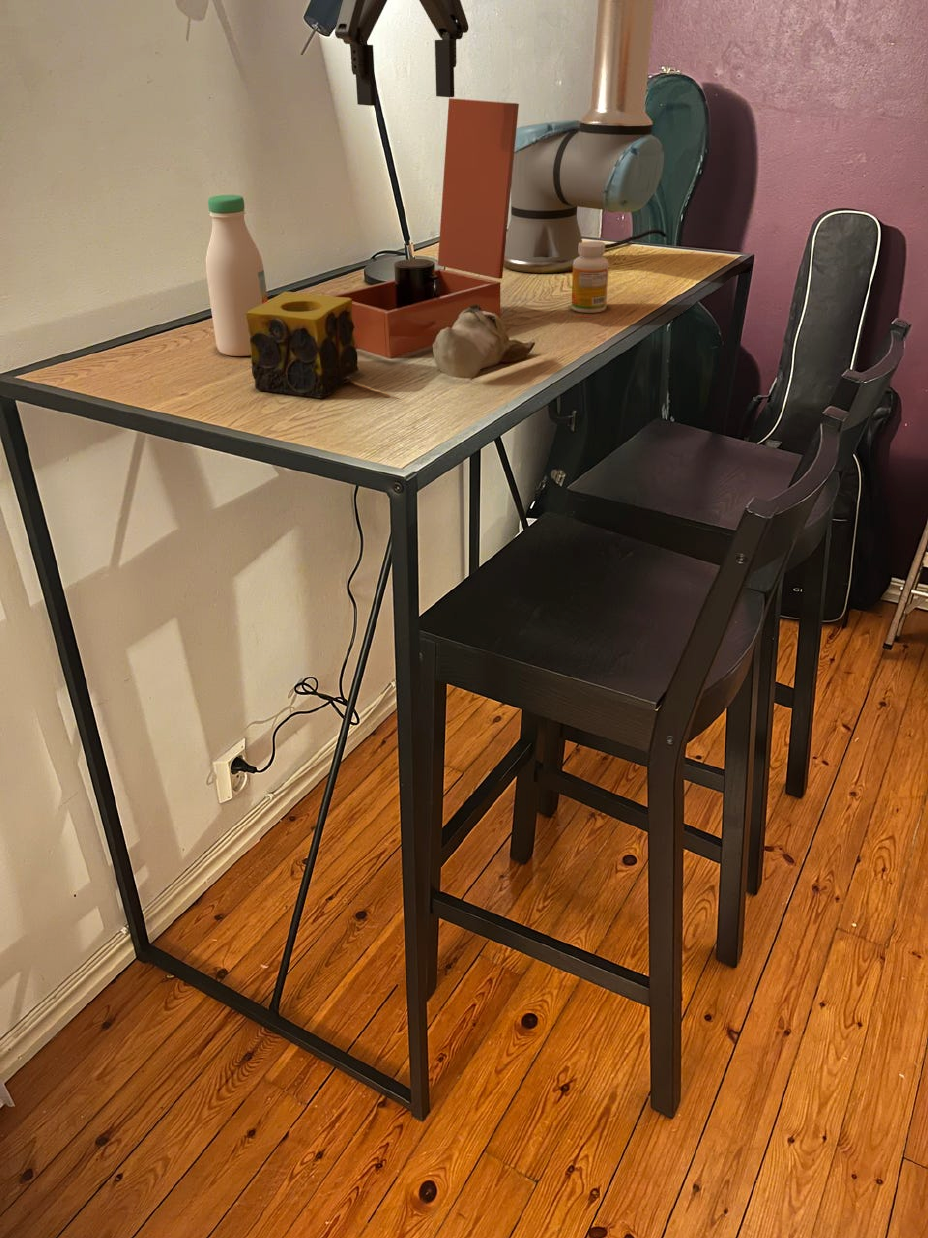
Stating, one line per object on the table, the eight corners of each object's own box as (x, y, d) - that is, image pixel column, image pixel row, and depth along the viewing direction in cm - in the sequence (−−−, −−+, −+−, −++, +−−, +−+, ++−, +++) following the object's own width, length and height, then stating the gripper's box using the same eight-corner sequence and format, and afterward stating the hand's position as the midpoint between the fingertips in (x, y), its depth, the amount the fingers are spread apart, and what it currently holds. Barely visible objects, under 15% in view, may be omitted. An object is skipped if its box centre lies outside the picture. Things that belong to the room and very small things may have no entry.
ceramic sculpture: (410, 308, 126) (472, 289, 137) (410, 377, 130) (470, 353, 141) (484, 321, 121) (542, 299, 132) (481, 392, 125) (538, 365, 137)
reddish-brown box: (390, 364, 136) (387, 312, 132) (331, 345, 143) (326, 296, 140) (500, 329, 149) (500, 281, 145) (440, 313, 156) (439, 268, 153)
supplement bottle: (576, 303, 160) (578, 238, 155) (609, 305, 159) (613, 240, 154) (567, 311, 156) (569, 246, 151) (601, 314, 154) (605, 248, 149)
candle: (292, 366, 136) (284, 290, 130) (360, 374, 132) (355, 296, 127) (252, 391, 127) (241, 310, 122) (323, 400, 124) (316, 318, 119)
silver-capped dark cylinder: (389, 332, 146) (385, 263, 141) (418, 323, 149) (415, 256, 144) (425, 342, 141) (423, 271, 136) (454, 333, 144) (452, 264, 139)
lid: (515, 103, 135) (519, 103, 135) (448, 97, 142) (452, 98, 143) (498, 278, 145) (502, 278, 145) (437, 265, 152) (441, 265, 153)
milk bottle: (261, 358, 139) (241, 202, 128) (208, 355, 140) (184, 201, 129) (281, 341, 145) (264, 192, 134) (230, 339, 146) (209, 191, 136)
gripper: (452, -97, 128) (455, 91, 140) (294, -106, 113) (311, 106, 125) (495, -101, 124) (495, 94, 135) (336, -110, 109) (351, 110, 120)
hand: (407, 100), depth 130 cm, fingers open, 13 cm apart
